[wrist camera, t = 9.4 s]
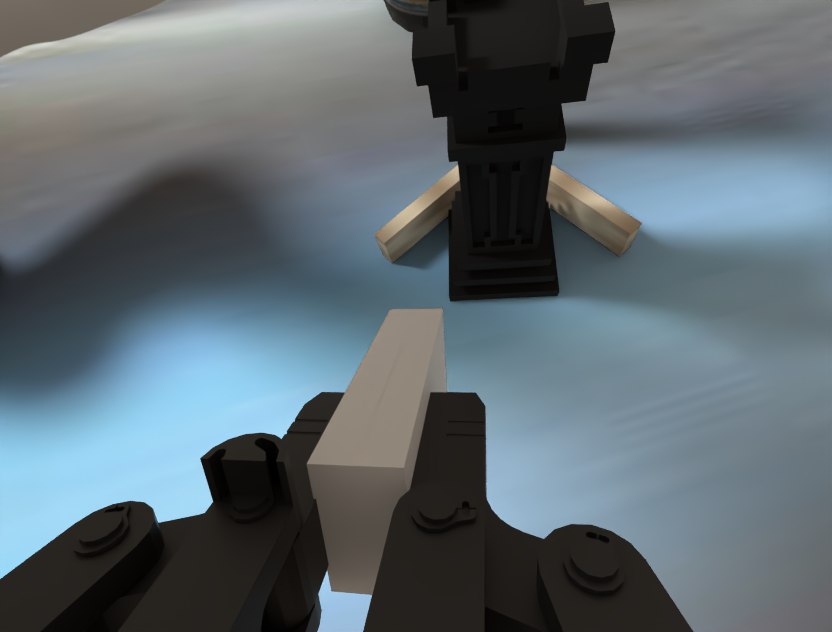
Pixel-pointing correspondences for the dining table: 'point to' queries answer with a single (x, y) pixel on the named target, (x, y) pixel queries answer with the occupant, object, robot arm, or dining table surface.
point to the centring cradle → (562, 197)
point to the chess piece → (506, 128)
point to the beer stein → (409, 13)
